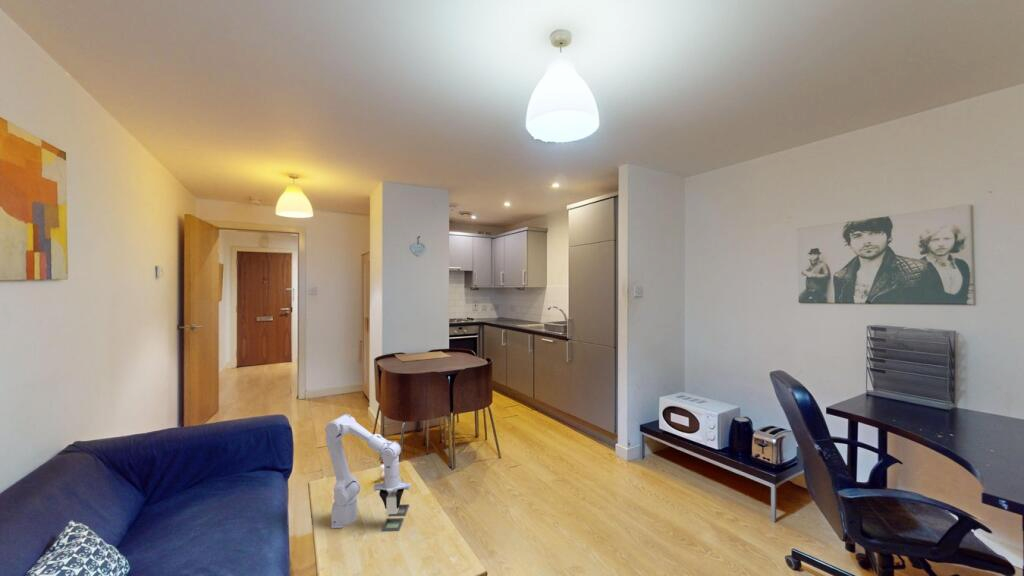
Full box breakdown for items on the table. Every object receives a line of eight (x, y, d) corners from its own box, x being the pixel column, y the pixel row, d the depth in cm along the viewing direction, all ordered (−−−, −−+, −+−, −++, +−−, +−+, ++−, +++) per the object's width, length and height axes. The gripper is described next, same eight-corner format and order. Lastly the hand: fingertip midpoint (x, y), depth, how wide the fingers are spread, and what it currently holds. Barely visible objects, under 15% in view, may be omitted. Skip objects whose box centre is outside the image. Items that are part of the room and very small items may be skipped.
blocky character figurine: (397, 477, 203) (396, 453, 202) (399, 480, 199) (399, 456, 199) (379, 482, 197) (378, 458, 197) (381, 485, 194) (381, 461, 194)
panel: (378, 535, 157) (378, 530, 157) (391, 508, 175) (391, 504, 174) (401, 534, 157) (401, 529, 157) (411, 508, 175) (411, 503, 175)
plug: (386, 514, 159) (386, 495, 159) (389, 508, 163) (389, 490, 163) (396, 513, 159) (396, 495, 159) (399, 508, 163) (398, 490, 163)
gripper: (370, 479, 156) (371, 513, 156) (407, 478, 156) (408, 512, 157) (376, 470, 163) (376, 503, 163) (411, 470, 163) (412, 502, 164)
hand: (392, 507), depth 160 cm, fingers closed on plug, 4 cm apart
